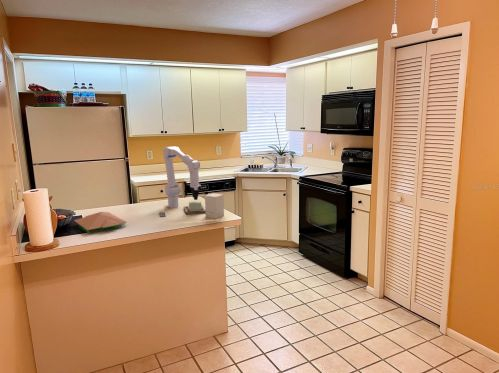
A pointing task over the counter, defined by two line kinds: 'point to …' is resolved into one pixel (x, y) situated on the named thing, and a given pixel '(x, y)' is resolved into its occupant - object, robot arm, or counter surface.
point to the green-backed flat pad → (99, 221)
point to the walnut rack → (194, 211)
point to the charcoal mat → (162, 214)
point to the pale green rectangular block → (195, 206)
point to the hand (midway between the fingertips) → (195, 198)
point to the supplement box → (214, 205)
